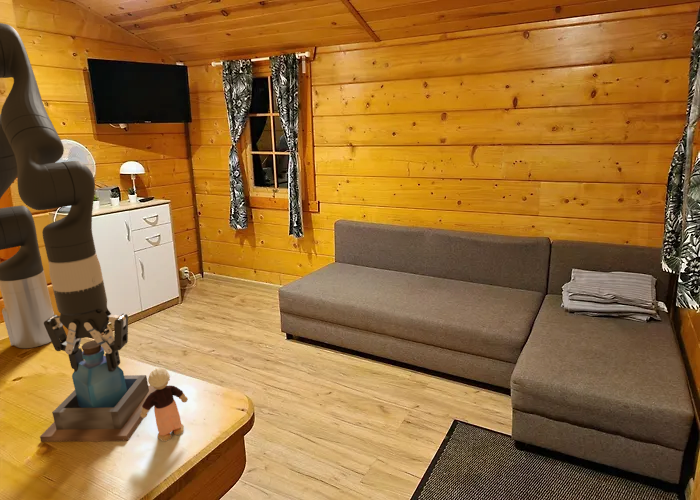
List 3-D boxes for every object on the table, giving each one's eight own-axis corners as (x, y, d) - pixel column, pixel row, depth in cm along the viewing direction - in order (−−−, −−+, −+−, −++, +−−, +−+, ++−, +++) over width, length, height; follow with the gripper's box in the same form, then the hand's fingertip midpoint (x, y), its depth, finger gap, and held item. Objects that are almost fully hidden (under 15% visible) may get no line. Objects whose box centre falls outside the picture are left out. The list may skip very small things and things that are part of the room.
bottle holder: (41, 441, 82) (35, 419, 81) (88, 390, 96) (84, 371, 95) (127, 440, 81) (122, 418, 80) (162, 389, 96) (159, 370, 94)
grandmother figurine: (182, 418, 87) (172, 356, 83) (194, 427, 84) (184, 363, 81) (141, 442, 81) (128, 376, 77) (153, 451, 79) (141, 384, 75)
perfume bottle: (95, 417, 84) (81, 357, 80) (78, 405, 88) (65, 346, 84) (128, 400, 89) (117, 342, 85) (111, 389, 92) (100, 333, 89)
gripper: (130, 273, 84) (145, 358, 90) (50, 274, 85) (69, 359, 90) (108, 289, 77) (126, 380, 82) (21, 291, 78) (44, 381, 83)
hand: (96, 369), depth 86 cm, fingers closed on perfume bottle, 5 cm apart
